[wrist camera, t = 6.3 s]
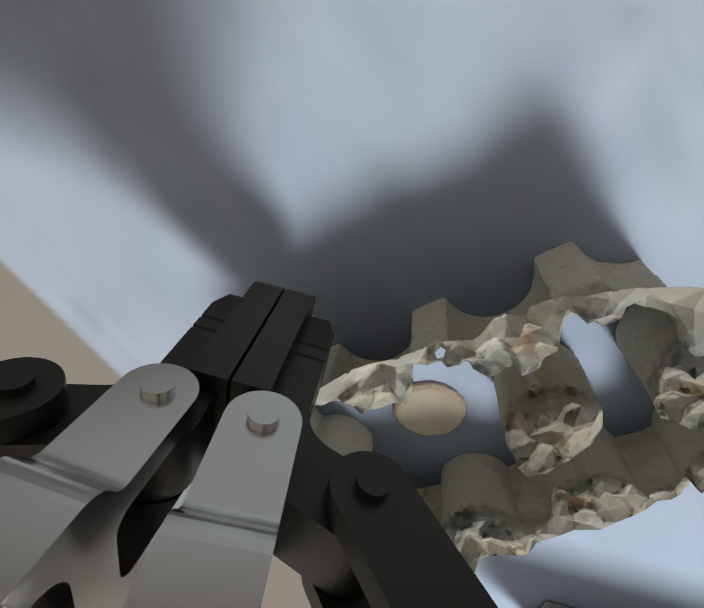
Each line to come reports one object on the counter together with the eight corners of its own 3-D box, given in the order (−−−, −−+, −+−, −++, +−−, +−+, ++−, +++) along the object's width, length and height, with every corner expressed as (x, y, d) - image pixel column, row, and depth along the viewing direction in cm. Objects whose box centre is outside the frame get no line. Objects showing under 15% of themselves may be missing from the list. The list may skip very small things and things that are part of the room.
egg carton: (378, 494, 17) (365, 612, 13) (272, 344, 14) (218, 443, 10) (701, 425, 13) (803, 565, 9) (643, 198, 10) (757, 275, 7)
